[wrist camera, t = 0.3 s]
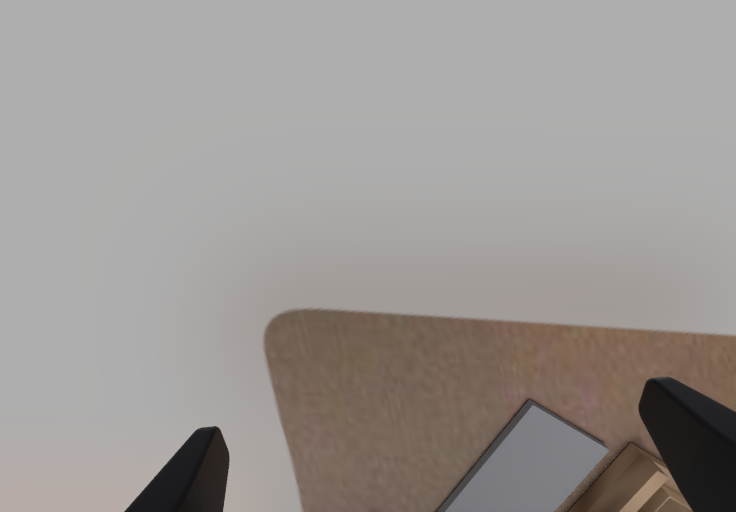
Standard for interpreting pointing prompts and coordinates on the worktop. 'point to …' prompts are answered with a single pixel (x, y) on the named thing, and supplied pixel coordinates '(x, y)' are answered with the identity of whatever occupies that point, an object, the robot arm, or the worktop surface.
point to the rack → (626, 483)
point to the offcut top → (673, 507)
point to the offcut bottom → (663, 499)
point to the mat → (528, 466)
